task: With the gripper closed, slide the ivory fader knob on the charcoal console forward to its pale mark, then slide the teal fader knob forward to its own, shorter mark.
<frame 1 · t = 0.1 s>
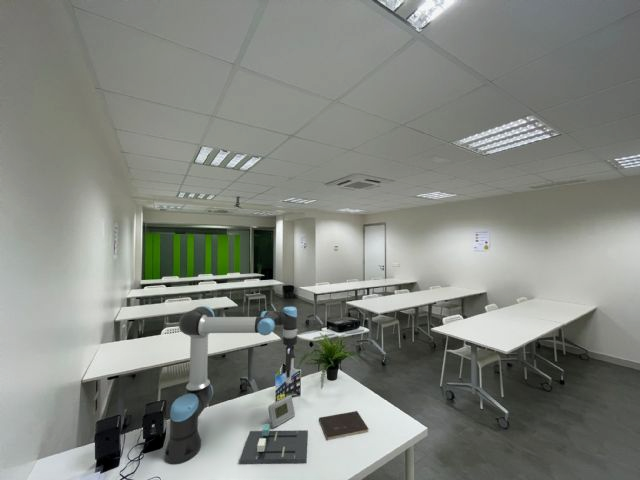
hand: (289, 376, 134), 28 cm above the table, fingers open, 13 cm apart
hardcover book: (343, 427, 136), on the table
fader near: (261, 446, 116), point 5 cm above the table, slide at 0.0 cm
digital clock: (281, 421, 141), on the table
console: (276, 448, 121), on the table
fader far: (265, 431, 126), point 4 cm above the table, slide at 0.0 cm
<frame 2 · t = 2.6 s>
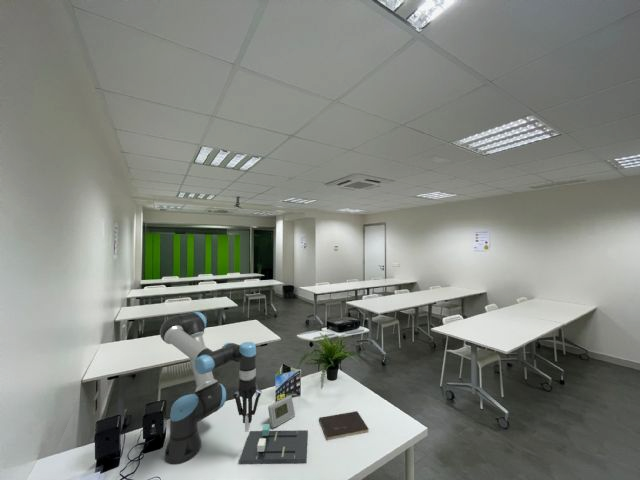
hand: (247, 429, 116), 12 cm above the table, fingers closed
nothing on the table moved.
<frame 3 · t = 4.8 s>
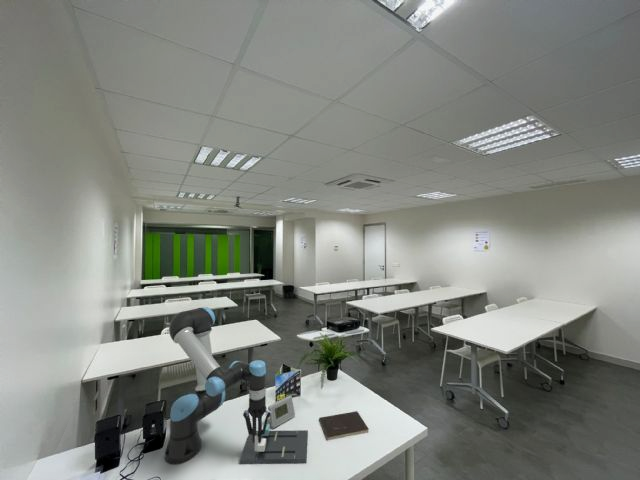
hand: (257, 448, 116), 4 cm above the table, fingers closed
fader near: (261, 446, 116), point 5 cm above the table, slide at 0.1 cm, touching gripper
everything else where it was.
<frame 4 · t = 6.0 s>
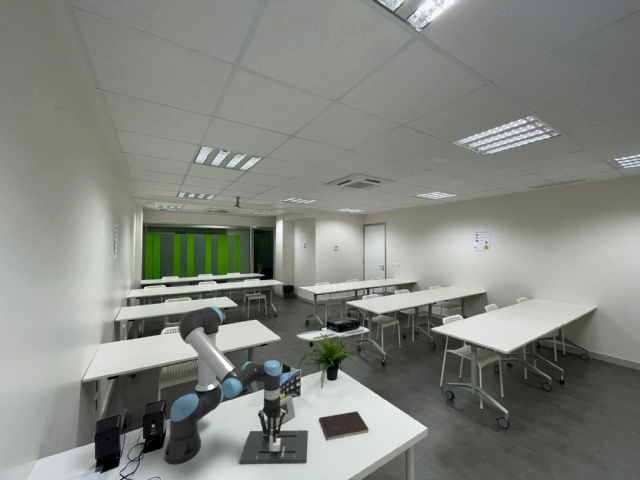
hand: (271, 448, 116), 4 cm above the table, fingers closed
fader near: (276, 446, 116), point 5 cm above the table, slide at 6.9 cm, touching gripper
everything else where it was.
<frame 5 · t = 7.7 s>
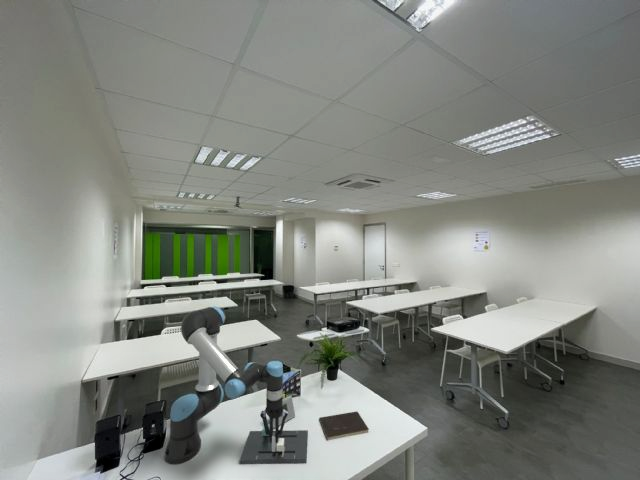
hand: (273, 449, 116), 3 cm above the table, fingers closed
fader near: (280, 446, 116), point 4 cm above the table, slide at 8.7 cm, touching gripper
everything else where it was.
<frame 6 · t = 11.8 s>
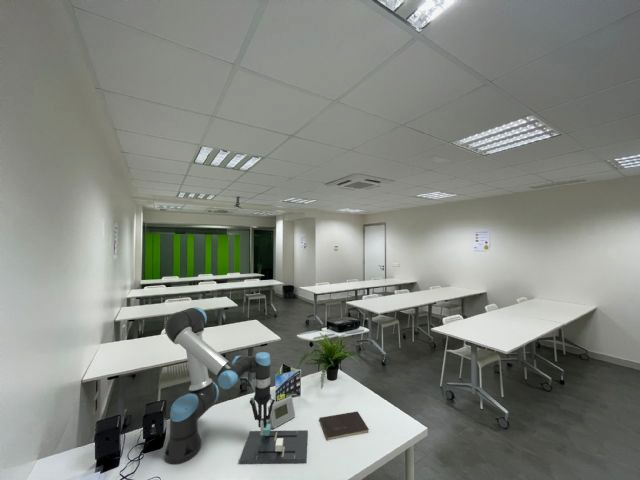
hand: (262, 433, 126), 4 cm above the table, fingers closed
fader near: (279, 446, 116), point 4 cm above the table, slide at 8.2 cm
fader far: (266, 431, 126), point 4 cm above the table, slide at 0.5 cm, touching gripper
everything else where it was.
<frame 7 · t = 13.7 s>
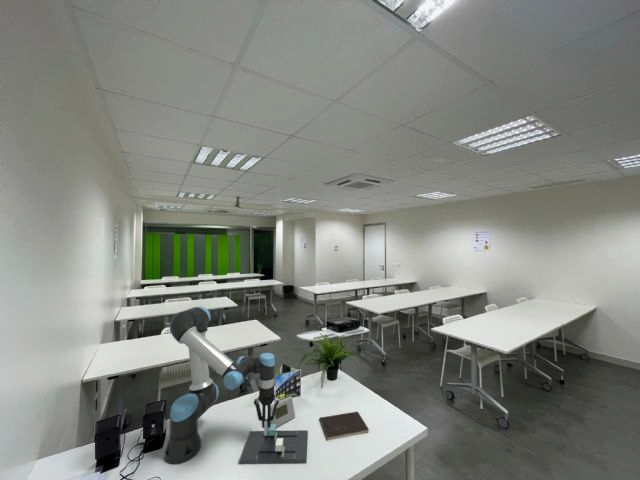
hand: (266, 433, 126), 3 cm above the table, fingers closed
fader far: (272, 431, 126), point 5 cm above the table, slide at 3.2 cm
everything else where it was.
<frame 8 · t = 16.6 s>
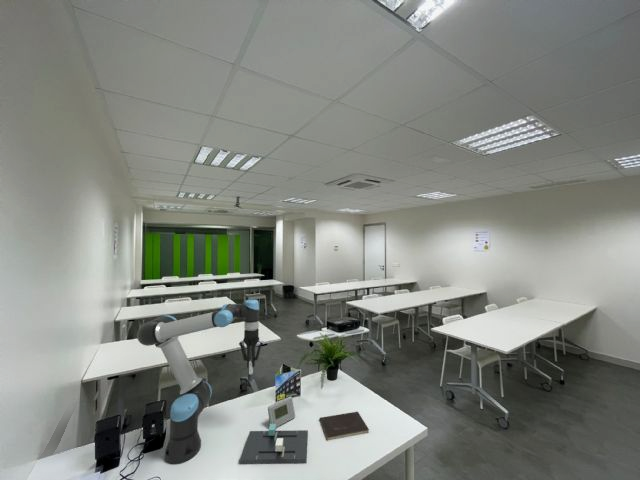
hand: (250, 373, 135), 29 cm above the table, fingers closed
nothing on the table moved.
at the end: fader near slide at 8.2 cm; fader far slide at 3.2 cm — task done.
